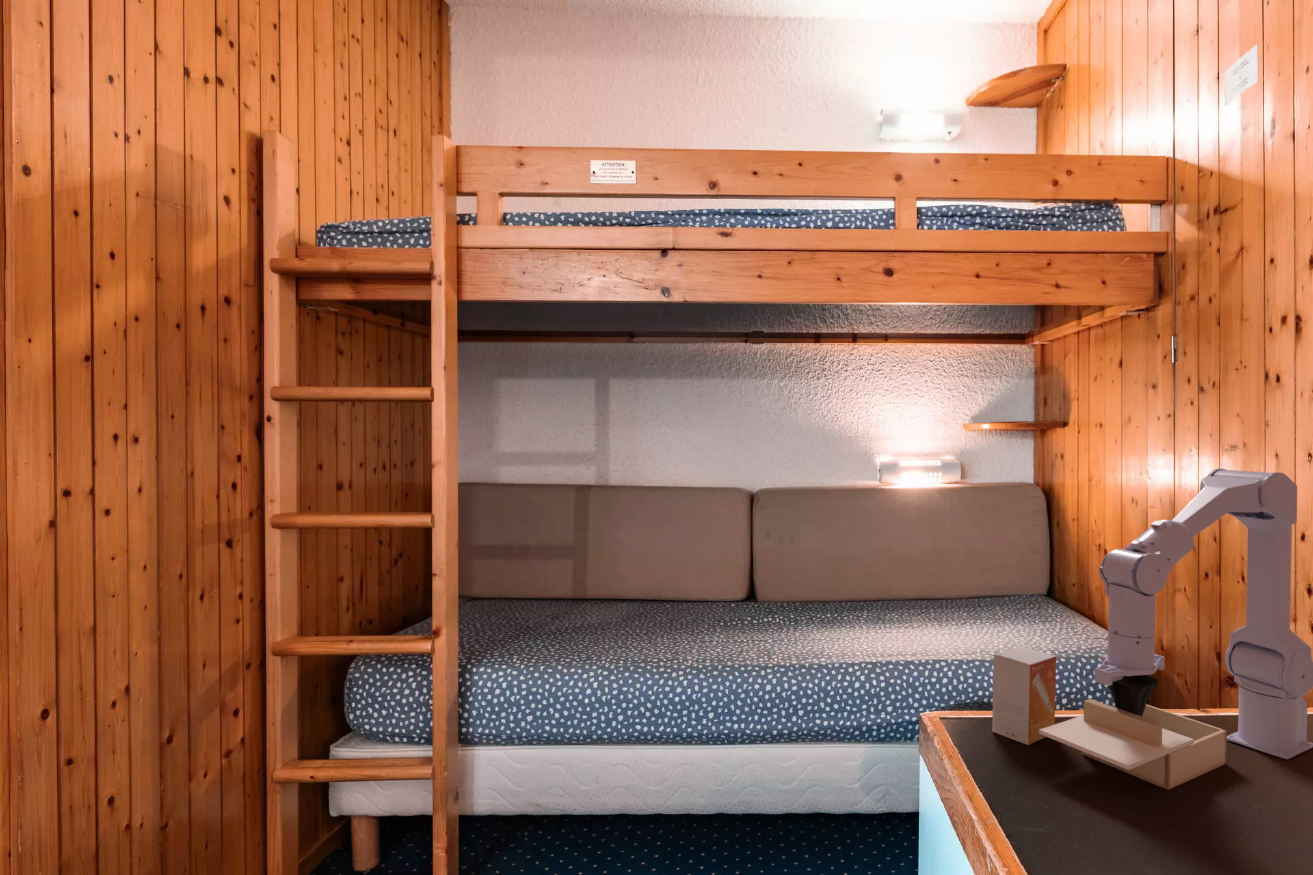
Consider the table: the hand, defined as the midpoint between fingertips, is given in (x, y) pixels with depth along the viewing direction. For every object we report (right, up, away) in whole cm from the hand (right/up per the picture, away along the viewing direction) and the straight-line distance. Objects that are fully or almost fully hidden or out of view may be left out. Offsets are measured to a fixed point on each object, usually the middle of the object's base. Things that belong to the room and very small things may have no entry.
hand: (1129, 724), depth 105 cm
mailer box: (+6, -7, +3) cm, 9 cm away
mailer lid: (-3, -1, -2) cm, 4 cm away
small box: (-9, -7, +12) cm, 17 cm away
